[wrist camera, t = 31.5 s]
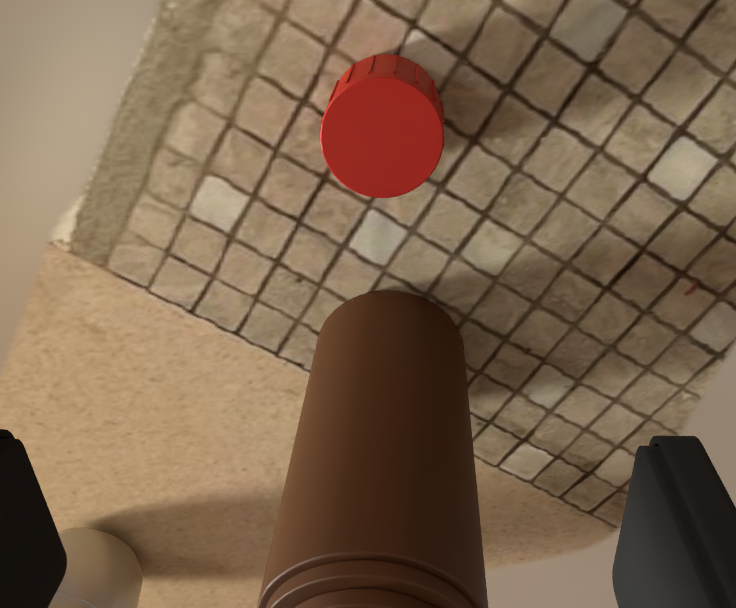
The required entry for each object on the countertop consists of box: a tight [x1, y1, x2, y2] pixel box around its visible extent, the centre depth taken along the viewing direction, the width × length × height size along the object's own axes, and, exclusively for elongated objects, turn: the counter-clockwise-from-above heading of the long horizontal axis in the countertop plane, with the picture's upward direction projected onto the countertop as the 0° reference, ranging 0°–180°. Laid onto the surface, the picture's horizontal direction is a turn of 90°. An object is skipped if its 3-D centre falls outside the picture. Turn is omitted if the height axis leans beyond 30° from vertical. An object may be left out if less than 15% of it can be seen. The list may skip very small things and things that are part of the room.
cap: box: [320, 54, 444, 198], centre depth 23 cm, size 4×4×3 cm
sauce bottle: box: [257, 291, 488, 608], centre depth 22 cm, size 6×6×18 cm
